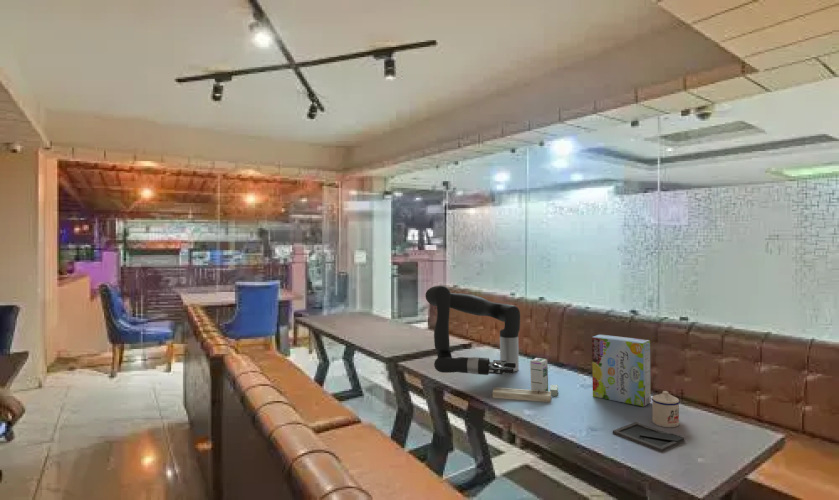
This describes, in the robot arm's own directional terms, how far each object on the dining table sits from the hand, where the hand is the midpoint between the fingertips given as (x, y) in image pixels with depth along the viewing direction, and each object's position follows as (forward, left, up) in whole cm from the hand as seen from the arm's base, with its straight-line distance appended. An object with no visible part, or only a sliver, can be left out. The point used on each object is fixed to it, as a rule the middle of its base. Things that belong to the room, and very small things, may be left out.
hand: (514, 368), depth 223 cm
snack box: (+2, +44, -10) cm, 45 cm away
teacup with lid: (+24, +58, -10) cm, 63 cm away
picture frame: (+40, +49, -11) cm, 64 cm away
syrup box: (0, +11, -10) cm, 15 cm away
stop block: (0, +17, -10) cm, 20 cm away
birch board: (+9, +4, -10) cm, 14 cm away
